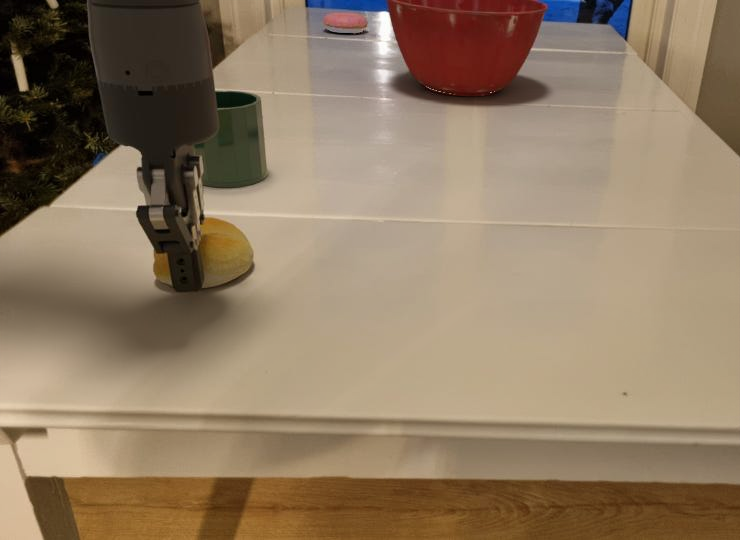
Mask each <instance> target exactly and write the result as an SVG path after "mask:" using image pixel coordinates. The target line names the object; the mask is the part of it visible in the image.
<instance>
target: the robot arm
mask: <svg viewBox="0 0 740 540" xmlns="http://www.w3.org/2000/svg"><path fill="white" fill-rule="evenodd" d="M86 1H87V2H86V8H87V21H88V22H87V23H88V25H87V27H88V38H89V45H90V50H91V56H92V59H93V60H92V61H93V65H94V71H95V76H96V82H97V87H98V93H99V96H100V102H101V108H102V113H103V118H104V123H105V128H106V133H107V135H108V137H109V139H111V140H112V141H113V142H114V143H116V144H118V145H119V146H123V147H131V148H133V149H135V150H137V151H138V152H139V153H140V155H141V158H140V161H141V162H140V163H141V166H137V167H136V179H137V184H138V189H139V191H140V192H141V193H142V194H143V196H144V200H145V205H144V204H143V205H137V208H136V211H135V216H136V218H137V222H138V223H139V226H140V227H141V229H142V231H143V232H144V234H145V235H146V237H147V239H148V241H149V242H150V244H151V246H152V247H153V250H154V249H155V251H156V253H157V254H164V253H167V257H168V263H169V269H170V275H171V281H172V286H171V287H172V289H173V291H174V292H176V293H195V292H199V291H201V290H202V289H203V288H202V285H203V282H204V272H203V265H202V258H201V251H200V244H199V241H201V237H202V230H201V227H200V225H203V222H204V220H205V217H206V216H205V212H204V210H205V209H204V208H205V199H204V185H203V172H204V169H203V165H204V159H203V157H202V154H194V145H195V144H199V143H202V142H205V141H207V140H209V139H211V138H213V137H214V136H215V135H216V134H217V132H218V131H219V118H218V110H217V102H216V94H215V91H216V85H215V78H214V70H213V69H214V68H213V62H212V61H213V60H212V53H211V44H210V37H209V33H208V28H207V23H206V20H205V16H204V13H203V7H202V3H201V0H86Z"/></svg>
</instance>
